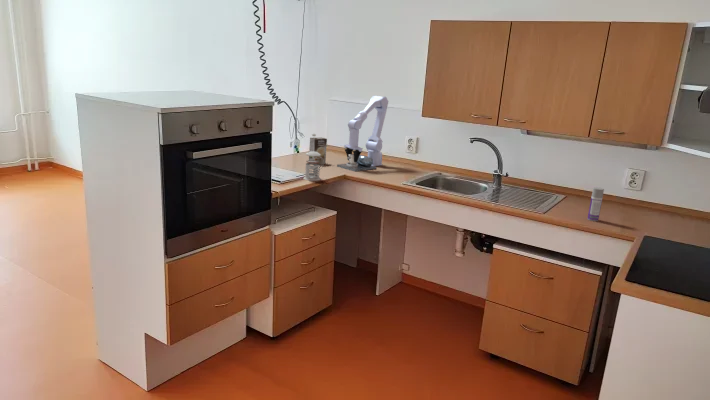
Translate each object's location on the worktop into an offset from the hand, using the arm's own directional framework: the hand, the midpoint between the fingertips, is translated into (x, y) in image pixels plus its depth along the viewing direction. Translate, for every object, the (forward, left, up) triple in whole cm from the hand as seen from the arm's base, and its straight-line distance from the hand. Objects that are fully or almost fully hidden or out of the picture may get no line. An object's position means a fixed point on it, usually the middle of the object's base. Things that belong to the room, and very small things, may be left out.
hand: (352, 161), depth 325 cm
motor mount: (-3, +1, -4) cm, 5 cm away
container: (-23, +141, -4) cm, 143 cm away
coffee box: (+11, -21, -4) cm, 24 cm away
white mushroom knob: (0, 0, -2) cm, 2 cm away
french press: (+41, +13, -4) cm, 43 cm away
